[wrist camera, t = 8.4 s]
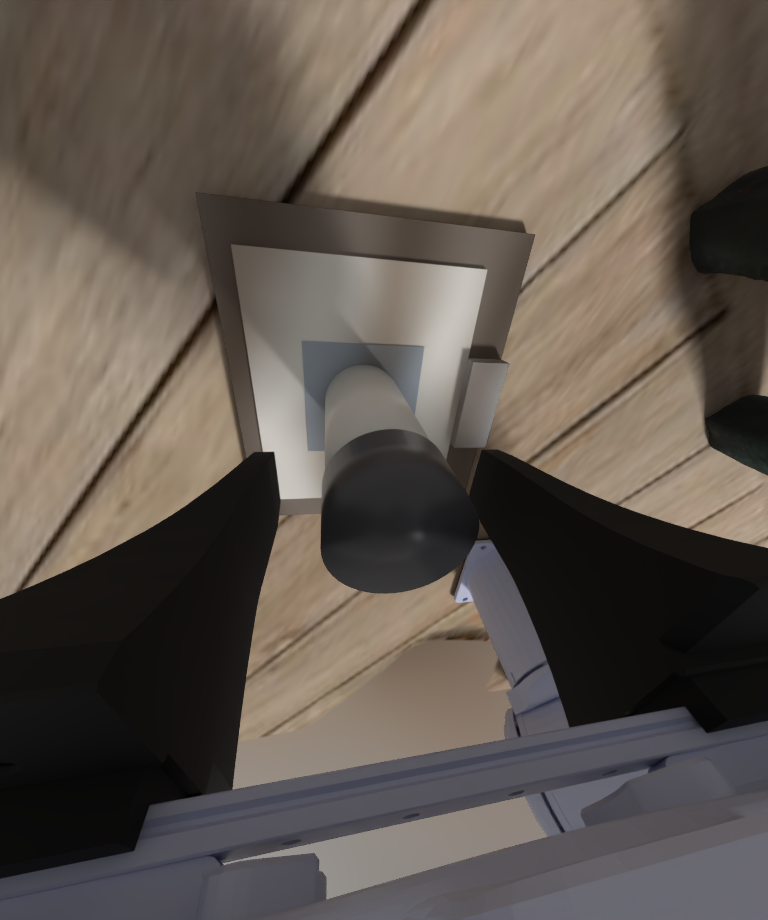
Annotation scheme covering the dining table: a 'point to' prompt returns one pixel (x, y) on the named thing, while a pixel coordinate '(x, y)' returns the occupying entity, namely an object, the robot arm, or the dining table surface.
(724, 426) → the ceramic cat
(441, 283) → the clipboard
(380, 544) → the marker
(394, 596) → the dining table surface
